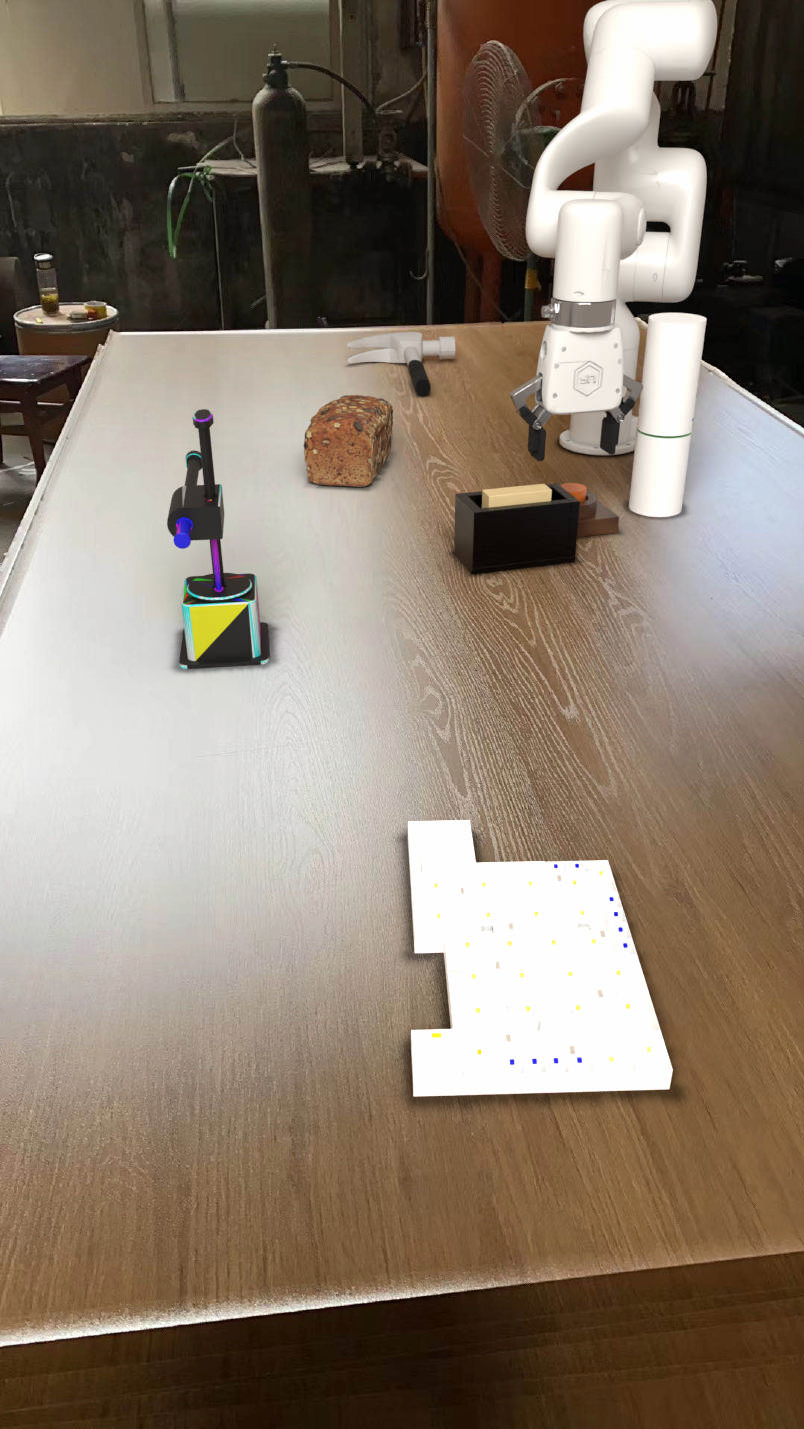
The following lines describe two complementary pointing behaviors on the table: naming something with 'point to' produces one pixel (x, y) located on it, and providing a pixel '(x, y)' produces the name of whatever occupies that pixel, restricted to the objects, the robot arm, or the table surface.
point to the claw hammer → (404, 353)
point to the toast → (515, 495)
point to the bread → (348, 441)
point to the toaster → (515, 532)
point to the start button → (576, 490)
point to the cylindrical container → (666, 413)
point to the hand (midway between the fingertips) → (572, 454)
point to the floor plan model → (528, 975)
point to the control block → (595, 518)
